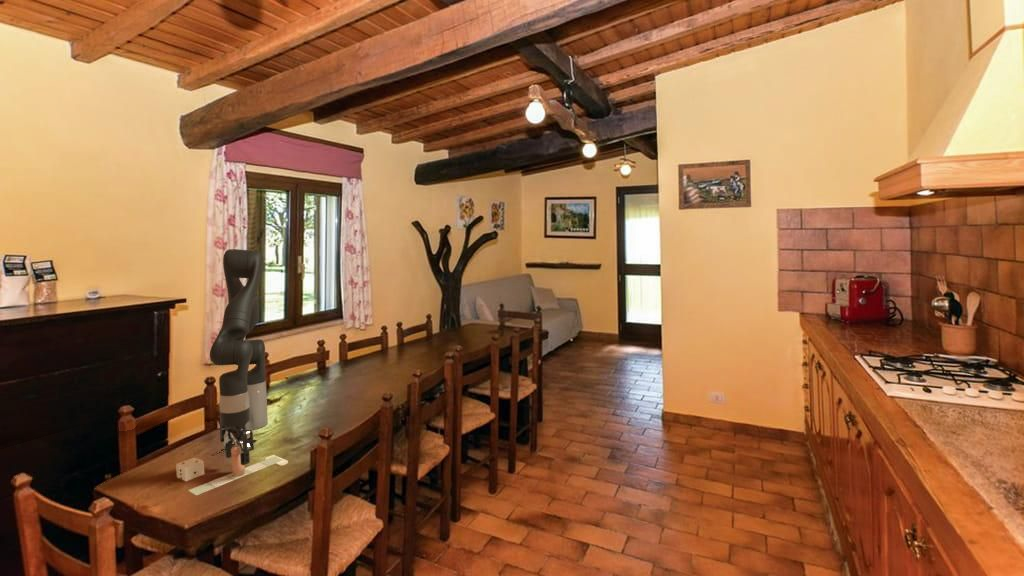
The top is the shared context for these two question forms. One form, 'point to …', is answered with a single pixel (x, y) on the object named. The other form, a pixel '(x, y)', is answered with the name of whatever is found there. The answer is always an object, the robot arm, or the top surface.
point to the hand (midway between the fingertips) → (237, 460)
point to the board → (225, 479)
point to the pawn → (237, 462)
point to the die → (190, 469)
